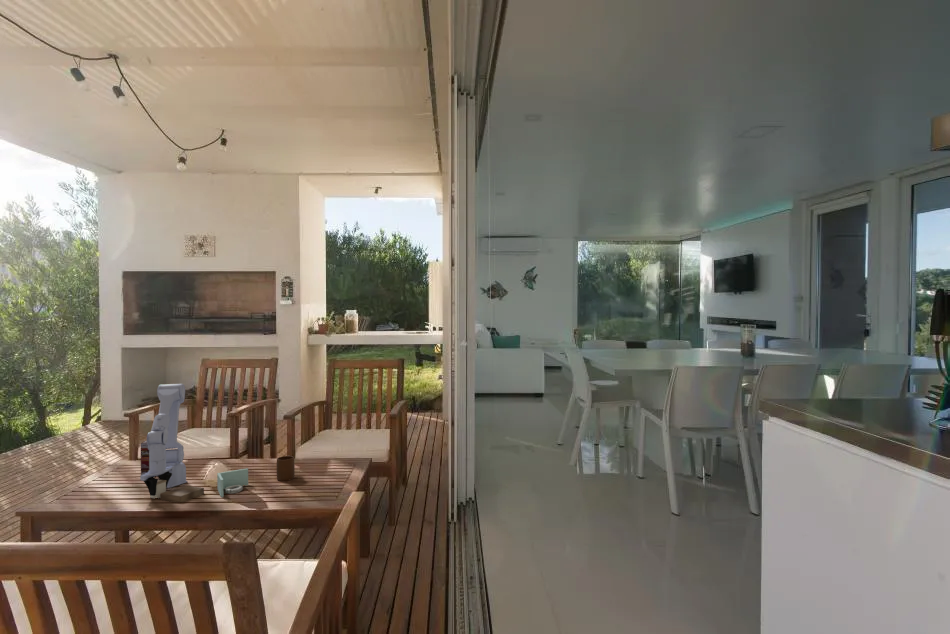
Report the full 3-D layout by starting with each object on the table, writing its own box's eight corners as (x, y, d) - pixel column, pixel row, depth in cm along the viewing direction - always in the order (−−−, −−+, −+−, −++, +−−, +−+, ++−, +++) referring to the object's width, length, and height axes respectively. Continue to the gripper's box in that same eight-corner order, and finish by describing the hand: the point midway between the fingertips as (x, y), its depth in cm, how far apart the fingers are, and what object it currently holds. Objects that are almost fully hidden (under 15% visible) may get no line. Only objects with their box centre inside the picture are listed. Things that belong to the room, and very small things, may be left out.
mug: (282, 473, 244) (282, 453, 244) (299, 473, 245) (299, 453, 245) (274, 481, 232) (274, 460, 232) (291, 481, 233) (291, 459, 233)
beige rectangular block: (159, 494, 217) (158, 479, 217) (166, 495, 216) (166, 480, 216) (149, 497, 213) (149, 482, 213) (157, 498, 212) (156, 483, 212)
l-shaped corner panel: (221, 498, 213) (220, 480, 213) (217, 490, 223) (217, 473, 223) (252, 492, 219) (252, 474, 219) (247, 485, 229) (247, 468, 229)
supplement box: (140, 477, 241) (139, 443, 242) (144, 474, 246) (144, 441, 246) (160, 476, 243) (160, 442, 243) (164, 473, 248) (164, 439, 248)
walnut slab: (184, 492, 221) (184, 485, 221) (204, 495, 217) (203, 487, 217) (160, 501, 210) (160, 493, 210) (180, 503, 207) (180, 496, 207)
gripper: (164, 454, 223) (165, 487, 223) (133, 464, 209) (134, 498, 209) (178, 455, 221) (178, 488, 221) (147, 465, 207) (148, 499, 207)
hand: (158, 493), depth 214 cm, fingers closed on beige rectangular block, 4 cm apart
